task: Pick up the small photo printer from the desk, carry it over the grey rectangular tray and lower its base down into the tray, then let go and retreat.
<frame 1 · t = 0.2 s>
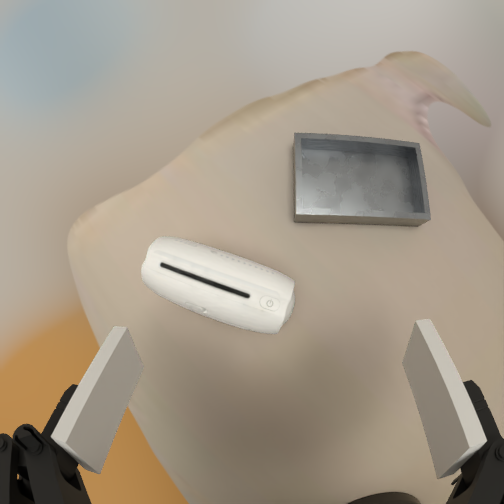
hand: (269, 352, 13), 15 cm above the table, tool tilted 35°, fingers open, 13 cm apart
grey rectangular tray: (357, 185, 29), on the table
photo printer: (236, 288, 29), on the table
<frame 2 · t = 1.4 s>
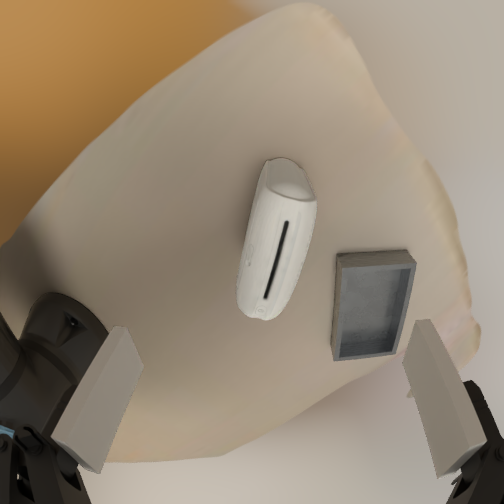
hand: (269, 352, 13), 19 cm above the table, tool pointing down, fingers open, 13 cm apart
grey rectangular tray: (367, 301, 34), on the table
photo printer: (273, 207, 30), on the table
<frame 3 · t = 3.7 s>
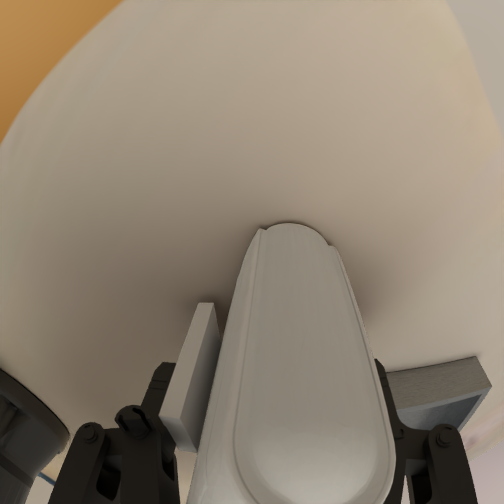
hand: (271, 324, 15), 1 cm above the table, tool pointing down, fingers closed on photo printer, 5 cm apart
grey rectangular tray: (405, 418, 20), on the table
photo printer: (271, 311, 15), on the table, touching gripper
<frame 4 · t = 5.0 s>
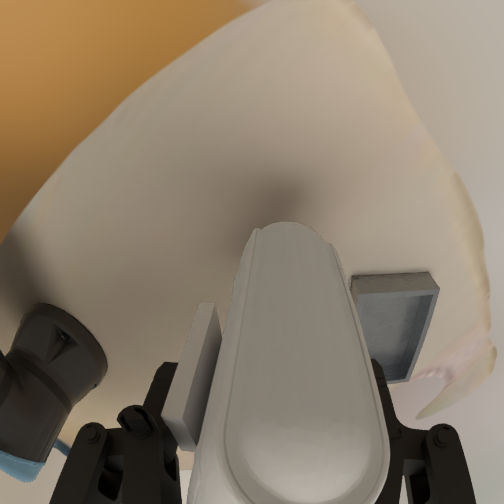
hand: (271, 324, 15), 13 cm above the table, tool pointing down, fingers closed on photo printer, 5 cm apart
grey rectangular tray: (382, 326, 30), on the table
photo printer: (271, 310, 16), point 12 cm above the table, touching gripper
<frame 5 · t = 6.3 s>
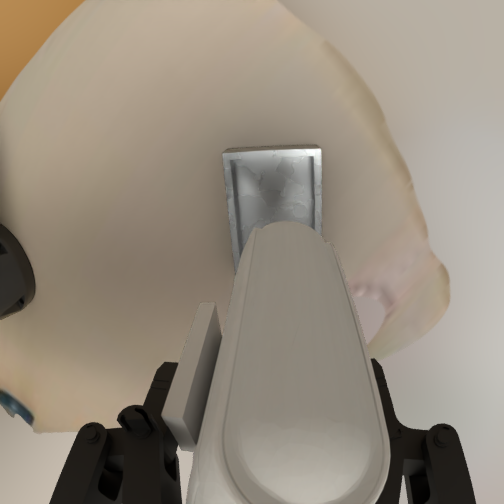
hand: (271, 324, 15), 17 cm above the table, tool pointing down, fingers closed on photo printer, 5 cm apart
grey rectangular tray: (275, 213, 30), on the table
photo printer: (271, 310, 16), point 16 cm above the table, touching gripper
when the fingers open (3 cm above the table, at t = 8.3 s): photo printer drops 2 cm, resting on grey rectangular tray.
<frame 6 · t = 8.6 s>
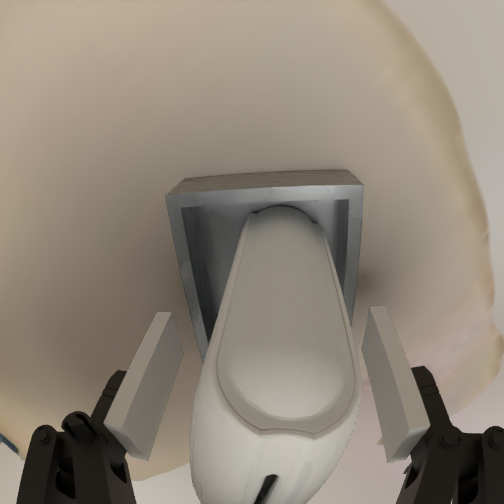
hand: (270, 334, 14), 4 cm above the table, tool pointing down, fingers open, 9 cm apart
grey rectangular tray: (272, 286, 18), on the table
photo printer: (270, 289, 17), resting on grey rectangular tray
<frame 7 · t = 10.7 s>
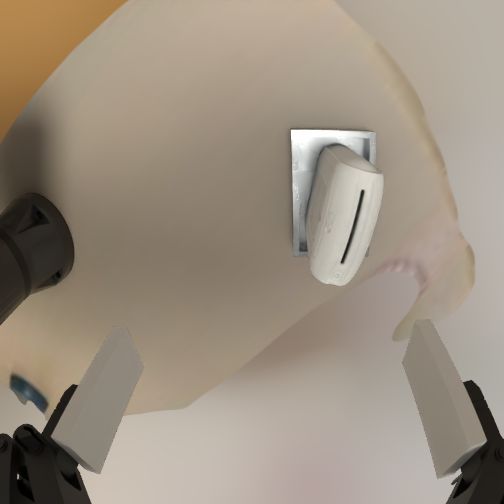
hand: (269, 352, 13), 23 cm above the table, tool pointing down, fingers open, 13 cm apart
grey rectangular tray: (330, 189, 32), on the table
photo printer: (329, 189, 31), resting on grey rectangular tray
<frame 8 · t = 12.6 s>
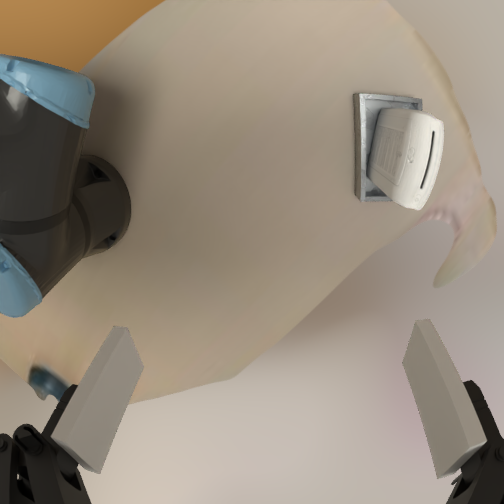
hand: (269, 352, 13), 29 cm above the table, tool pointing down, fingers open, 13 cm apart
grey rectangular tray: (384, 145, 35), on the table
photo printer: (385, 145, 34), resting on grey rectangular tray
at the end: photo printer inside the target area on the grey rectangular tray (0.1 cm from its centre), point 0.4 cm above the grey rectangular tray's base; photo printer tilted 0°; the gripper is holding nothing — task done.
